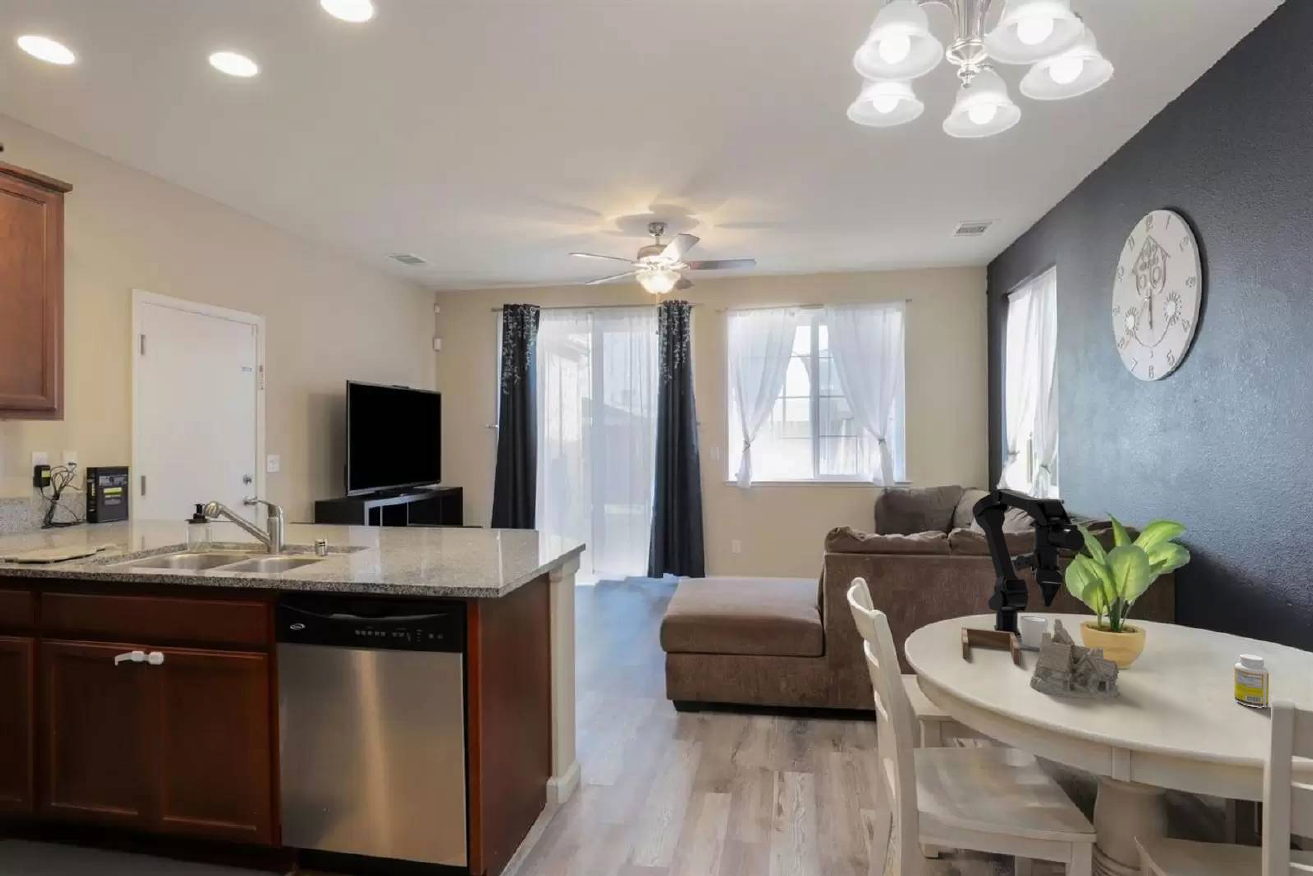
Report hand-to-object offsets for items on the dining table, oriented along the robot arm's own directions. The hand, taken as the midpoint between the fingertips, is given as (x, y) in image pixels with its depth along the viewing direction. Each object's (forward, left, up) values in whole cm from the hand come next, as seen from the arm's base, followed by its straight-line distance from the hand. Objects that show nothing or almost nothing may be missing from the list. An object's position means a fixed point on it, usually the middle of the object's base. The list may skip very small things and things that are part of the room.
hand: (1045, 602), depth 188 cm
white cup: (0, -3, -12) cm, 12 cm away
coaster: (+1, -3, -12) cm, 12 cm away
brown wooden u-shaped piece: (+12, -14, -12) cm, 22 cm away
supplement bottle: (+28, +36, -12) cm, 47 cm away
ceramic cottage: (+33, +2, -13) cm, 35 cm away
